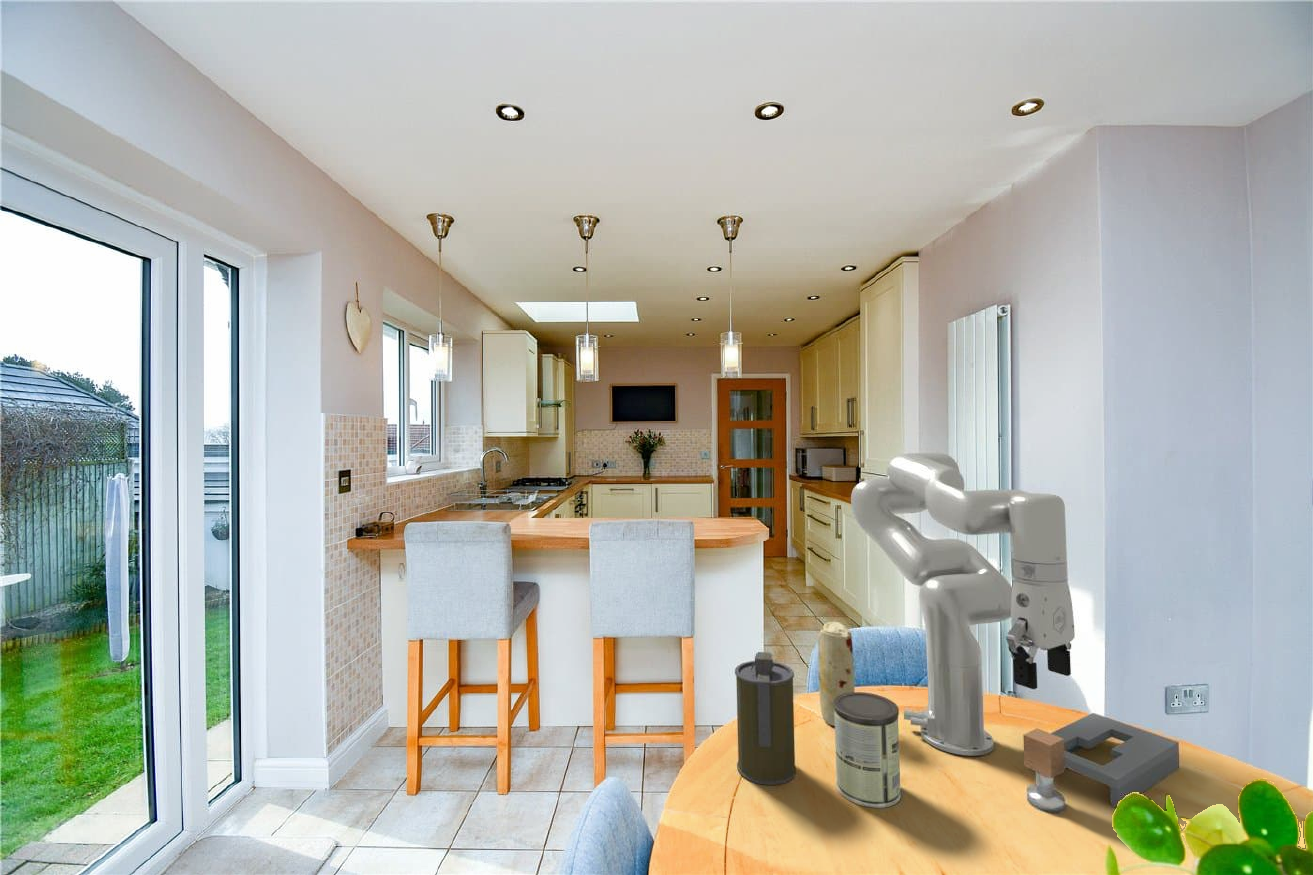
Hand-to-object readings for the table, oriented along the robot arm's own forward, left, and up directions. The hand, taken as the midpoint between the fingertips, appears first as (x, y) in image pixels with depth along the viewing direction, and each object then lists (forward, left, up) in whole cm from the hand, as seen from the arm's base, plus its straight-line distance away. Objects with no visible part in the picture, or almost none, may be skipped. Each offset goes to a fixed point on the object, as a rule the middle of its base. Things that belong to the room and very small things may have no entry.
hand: (1042, 679), depth 92 cm
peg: (0, 0, -20) cm, 20 cm away
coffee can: (-26, -6, -20) cm, 34 cm away
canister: (-43, -6, -20) cm, 48 cm away
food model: (-33, +17, -20) cm, 42 cm away
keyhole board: (+12, +15, -20) cm, 27 cm away
